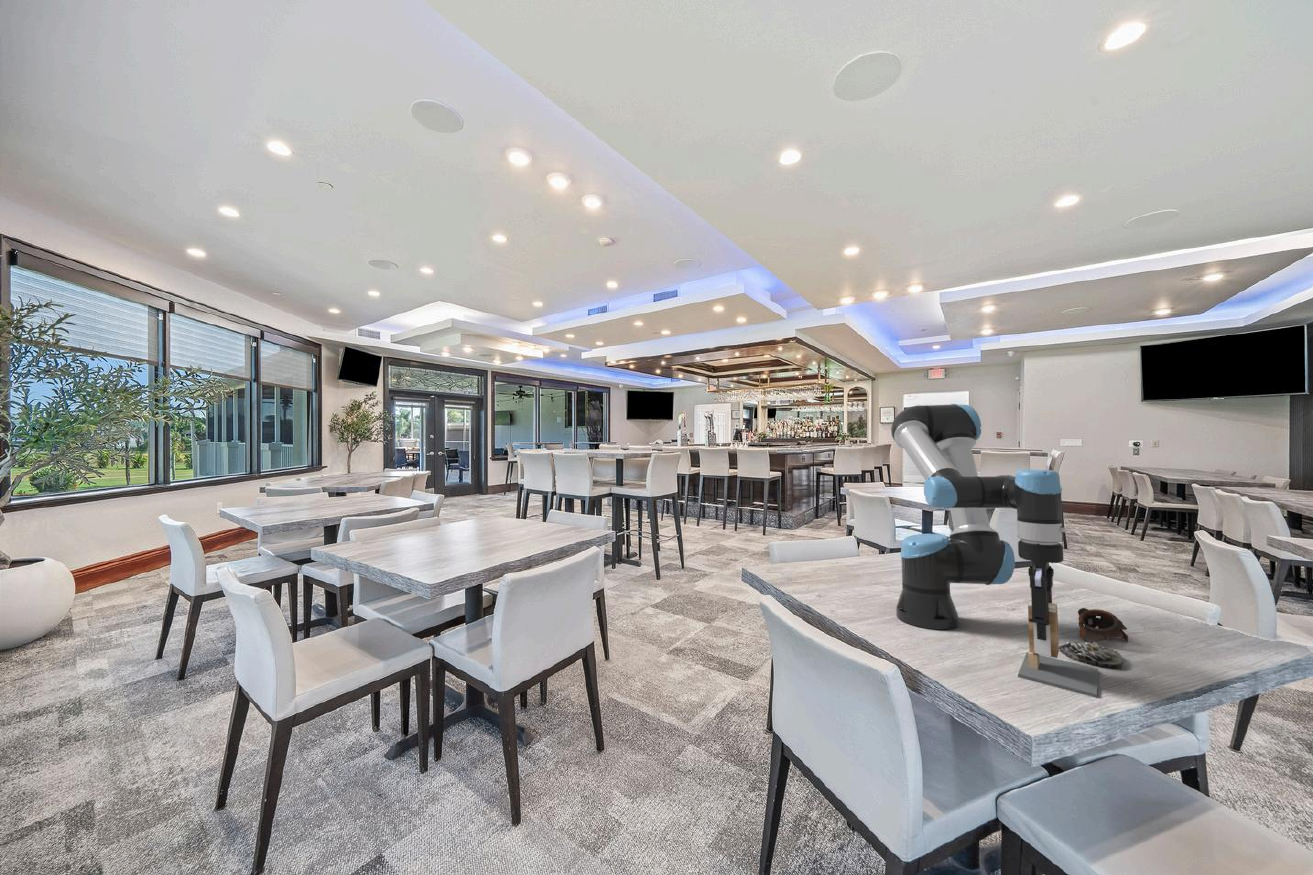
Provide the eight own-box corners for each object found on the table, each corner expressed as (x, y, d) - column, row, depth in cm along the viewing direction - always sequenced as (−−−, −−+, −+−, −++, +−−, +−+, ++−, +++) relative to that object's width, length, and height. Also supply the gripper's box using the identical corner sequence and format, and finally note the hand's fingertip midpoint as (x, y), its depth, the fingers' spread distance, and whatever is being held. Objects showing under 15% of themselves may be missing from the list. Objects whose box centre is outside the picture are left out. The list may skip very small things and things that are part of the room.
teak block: (1029, 651, 100) (1027, 604, 100) (1032, 645, 103) (1030, 599, 103) (1057, 658, 97) (1055, 609, 97) (1058, 651, 100) (1057, 604, 100)
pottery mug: (1144, 649, 110) (1135, 622, 108) (1104, 665, 111) (1094, 638, 110) (1099, 618, 122) (1089, 593, 120) (1063, 633, 123) (1053, 608, 121)
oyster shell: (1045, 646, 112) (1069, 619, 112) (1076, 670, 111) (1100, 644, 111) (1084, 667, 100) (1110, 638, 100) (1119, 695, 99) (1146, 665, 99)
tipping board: (1018, 676, 97) (1017, 659, 97) (1026, 654, 107) (1026, 638, 107) (1096, 697, 89) (1096, 678, 89) (1098, 671, 99) (1097, 654, 99)
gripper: (1059, 550, 92) (1064, 670, 91) (1065, 537, 104) (1069, 642, 103) (1012, 545, 97) (1016, 658, 96) (1023, 533, 109) (1027, 633, 109)
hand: (1044, 649), depth 100 cm, fingers closed on teak block, 4 cm apart
